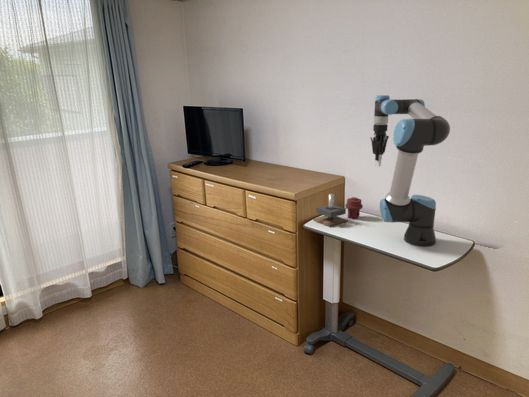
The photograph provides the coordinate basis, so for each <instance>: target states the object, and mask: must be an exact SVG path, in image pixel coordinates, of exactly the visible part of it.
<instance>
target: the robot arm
mask: <svg viewBox="0 0 529 397" xmlns="http://www.w3.org/2000/svg"><path fill="white" fill-rule="evenodd" d="M390 98H391V97H390V96H389V95H386V94H384V95H383V94H381V95H380V94H379V95H376V96H375V100H374V112H373V114H374V116H373V117H374V118H373V132H374V133H373V136H372V137H370V141H371V148H372V154H374V155H375V158H374V159H375V162H374V166H376V167H381V164H382V160H383V159H382V156H384V154H385V152H386V148H387V143H388V140H389V135H387V132H388V127H389V125H388V123H389V115H390V116H392V115H409V116H410V118H407V119H406V118H404V119H400V120H399V121H398V122H397V123H396V125H395V127H394V130H393V139H392V142H393V145H395V148H396V149H397V155H396V156H397V157H396V161H395V166H394V172H393V177H392V181H391V185H390V189H389V191H388V192H387V193H386V195H385V198H382V199H380V201H379V212H380V216H381V219H382V220H383V221H384V223H408V226H407V228H406V231H405V232H404V235H403V236H404V237H403V241H405V243H407V244H410V245H412V246H418V247H432V246H434V245H436V242H437V237H436V233H435V230H434V225H435V216H436V210H437V202H436V200H435V199H433V198H432V197H430V196H425V195H420V194H412V195H411V197H410V196H409V195H410V194H409V193H410V189H411V186H412V181H413V178H414V177H413V176H414V172H415V170H416V165H417V160H418V157H419V154H421V153H423V150H424V147H426V146H436V145H439V144H441V143H442V142H444V141H445V140H447V138H448V137H449V134H450V132H451V126H450V123H449V122H448V120H447V119H446V118H444V117H442V116H440V115H437V114H435V113H433V111H431V110H429V108H427V107H426V105H425V101H424V100H423V99H419V98H418V99H417V98H415V99H412V98H411V99H407V98H406V99H390Z"/></svg>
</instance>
